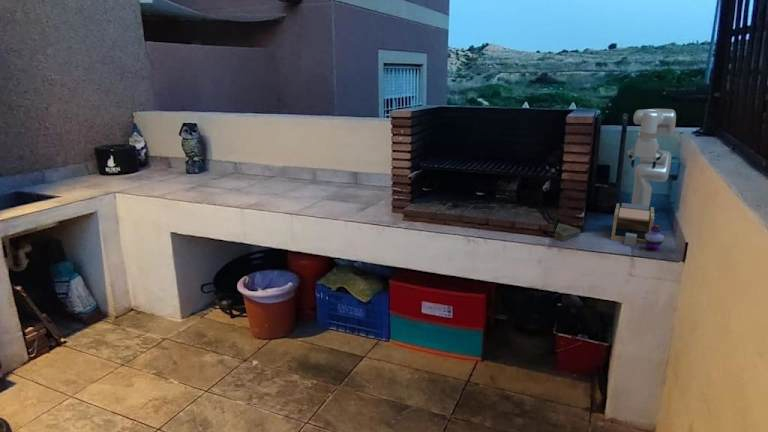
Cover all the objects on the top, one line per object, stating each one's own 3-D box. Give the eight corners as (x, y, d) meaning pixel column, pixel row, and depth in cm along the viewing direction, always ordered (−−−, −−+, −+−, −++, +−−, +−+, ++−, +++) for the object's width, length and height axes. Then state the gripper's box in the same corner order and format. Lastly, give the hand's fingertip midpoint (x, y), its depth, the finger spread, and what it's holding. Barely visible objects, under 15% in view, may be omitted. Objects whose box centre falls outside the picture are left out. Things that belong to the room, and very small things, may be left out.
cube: (626, 232, 252) (624, 242, 254) (625, 235, 248) (624, 244, 249) (637, 234, 250) (635, 243, 251) (636, 236, 246) (635, 246, 247)
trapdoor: (619, 209, 271) (620, 202, 270) (649, 212, 265) (650, 205, 264) (617, 222, 257) (618, 215, 255) (648, 226, 251) (649, 218, 249)
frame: (613, 226, 278) (617, 202, 274) (649, 231, 270) (653, 206, 266) (610, 239, 257) (614, 213, 253) (650, 245, 249) (654, 218, 245)
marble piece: (562, 242, 254) (563, 234, 253) (539, 234, 266) (540, 227, 264) (582, 236, 263) (583, 228, 262) (559, 229, 275) (560, 221, 273)
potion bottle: (664, 252, 239) (668, 228, 235) (644, 250, 241) (648, 227, 237) (660, 246, 247) (664, 223, 243) (640, 245, 249) (644, 222, 245)
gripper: (629, 135, 263) (624, 167, 268) (666, 137, 255) (661, 170, 260) (629, 134, 269) (625, 165, 274) (666, 136, 262) (660, 168, 267)
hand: (642, 168), depth 267 cm, fingers open, 9 cm apart
